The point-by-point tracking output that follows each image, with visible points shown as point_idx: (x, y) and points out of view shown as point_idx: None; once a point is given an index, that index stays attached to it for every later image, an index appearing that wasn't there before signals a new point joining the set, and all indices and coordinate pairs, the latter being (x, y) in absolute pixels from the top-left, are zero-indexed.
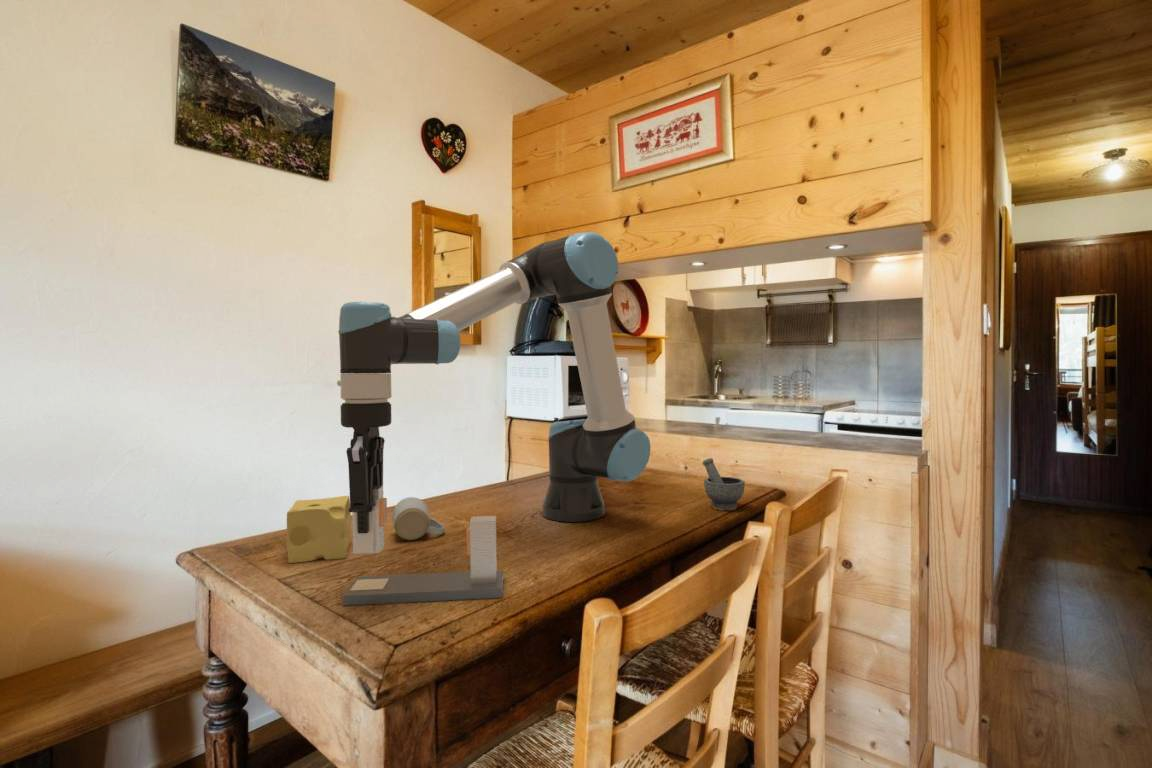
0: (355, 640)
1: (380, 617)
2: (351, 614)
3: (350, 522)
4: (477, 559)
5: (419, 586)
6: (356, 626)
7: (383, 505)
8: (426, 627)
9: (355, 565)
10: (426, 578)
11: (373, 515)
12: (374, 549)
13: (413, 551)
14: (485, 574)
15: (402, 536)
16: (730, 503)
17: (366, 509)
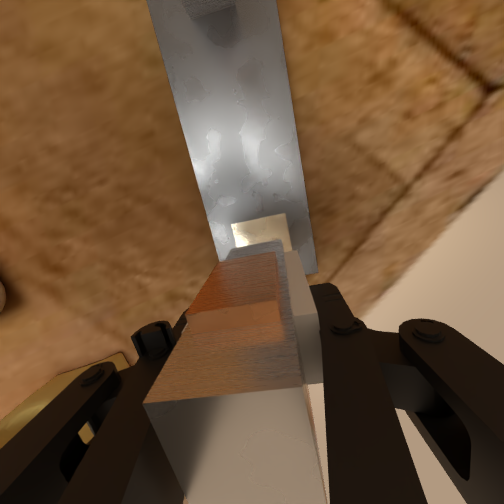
0: (455, 180)
1: (363, 178)
2: (349, 236)
3: (21, 406)
4: None
5: (263, 139)
6: (398, 204)
7: (271, 288)
8: (415, 58)
9: (146, 323)
10: (218, 142)
11: (303, 302)
12: (285, 254)
13: (51, 253)
14: None
15: (3, 299)
16: None
17: (439, 325)
